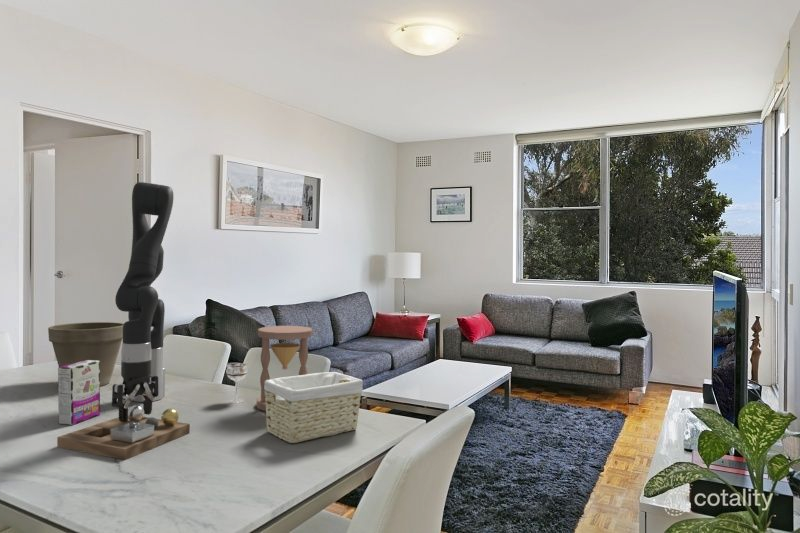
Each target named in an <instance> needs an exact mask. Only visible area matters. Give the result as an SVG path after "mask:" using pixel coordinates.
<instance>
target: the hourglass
mask: <svg viewBox="0 0 800 533" xmlns="http://www.w3.org/2000/svg"><path fill="white" fill-rule="evenodd" d="M313 334H314V333H313V329H312V327H309V326H301V325H271V326H269V325H268V326H264V327H260V328H257V337H259V338H260V339H261V352H260V363H261V368H262V370H261V374H260V378H259V383H260V388H261V390H260V396H259V397H258V398H256V405H255V406H256V408H257V409H259V410H260V411H263V412H266V401H265V398H266V396H265V389H264V382H265V381H266V380H270V379H271V378H270V373H269V365H270V361H271V352H270V348H271V350H272V352H273V354H274V356H275V357H276V358H277V359H278V361H279V362H280V364H281V366H282V367H281V368H282V370H288V365H289V364H290V362H291V361H292V360H293V358H294V357H295V355H296V353H297V352H298V359H299V362H300V368H299V371H298V375H306V374H309V373H308V371H307V367H306V366H307V361H308V358H309V355H308V354H309V350H308V349H309V348H308V339H309V338H311V337H312V336H313ZM270 340H277V341H279V340H281V341H282V340H283V341H287V340H289V341H290V340H300V341H299V342H300V343H295V342H279V343H278V342H277V343H272V344H270Z"/></svg>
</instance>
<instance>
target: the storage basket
mask: <svg viewBox="0 0 800 533" xmlns="http://www.w3.org/2000/svg"><path fill="white" fill-rule="evenodd" d="M363 383H364V382H363V379H361V378H357V377H355V376H350V375H347V374H344V373H340V372H336V371H331V372H329V371H326V372H324V371H323V372H315V373H308V374H306V375H299V374H298V375H292V376H283V377H277V378H276V377H275V378H270V380H266V381H265V382H264V389H265V396H266V398H265V401H266V411H265V417H266V420H265V422H266V424H265V425H266V431H267V432H268V433H270V434H271V435H273V436H274V437H278V439H281V440H283V441H284V442H287V443H289V444H297V443H300V442H305V441H311V440H315V439H319V438H321V437H323V438H325V437H331V436H335V435H337V434H342V433H348V432H350V431H355V430H357V426H358V419H359V415H360V414H359V413H360V412H359V411H360V405H361V402H360V401H361V396H362V393H363V389H364V388H363V385H364V384H363Z"/></svg>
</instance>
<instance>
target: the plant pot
mask: <svg viewBox="0 0 800 533" xmlns="http://www.w3.org/2000/svg"><path fill="white" fill-rule="evenodd" d="M123 324H124V323H123V322H111V321H110V322H109V321H101V322H100V321H98V322H97V321H95V322H94V321H93V322H92V321H91V322H88V321H87V322H74V323H63V324H55V325H51V326H49V327H48V328H47V331H48V341H49V342H51V345H52V347H53V351H54V354H55V358H56V362H57V366H58V367H62V366H65V365H69V364H73V363H77V362H81V361H85V360H96V361H100V387H101V386H105V385H108V384H110V382H111V380H112V376H113V373H114V370H115V368H116V367H115V365H116V362H117V359H118V355H119V351H120V347H121V345H122V342H123Z"/></svg>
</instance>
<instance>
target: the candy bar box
mask: <svg viewBox="0 0 800 533" xmlns="http://www.w3.org/2000/svg"><path fill="white" fill-rule="evenodd" d="M57 381H58V382H57V383H58V384H57V388H58V390H57V391H58V400H57V402H58V424H59V425H62V424H65V425H66V426H75V425H76V424H77V425H78V424H79V423H82V422H84V421H87V420H89V419H92V418H95V417H98V416H100V415H101V386H100V361H96V360H85V361H81V362H77V363H73V364H69V365H65V366H62V367H59V366H58V368H57ZM65 425H64V426H65Z"/></svg>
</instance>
